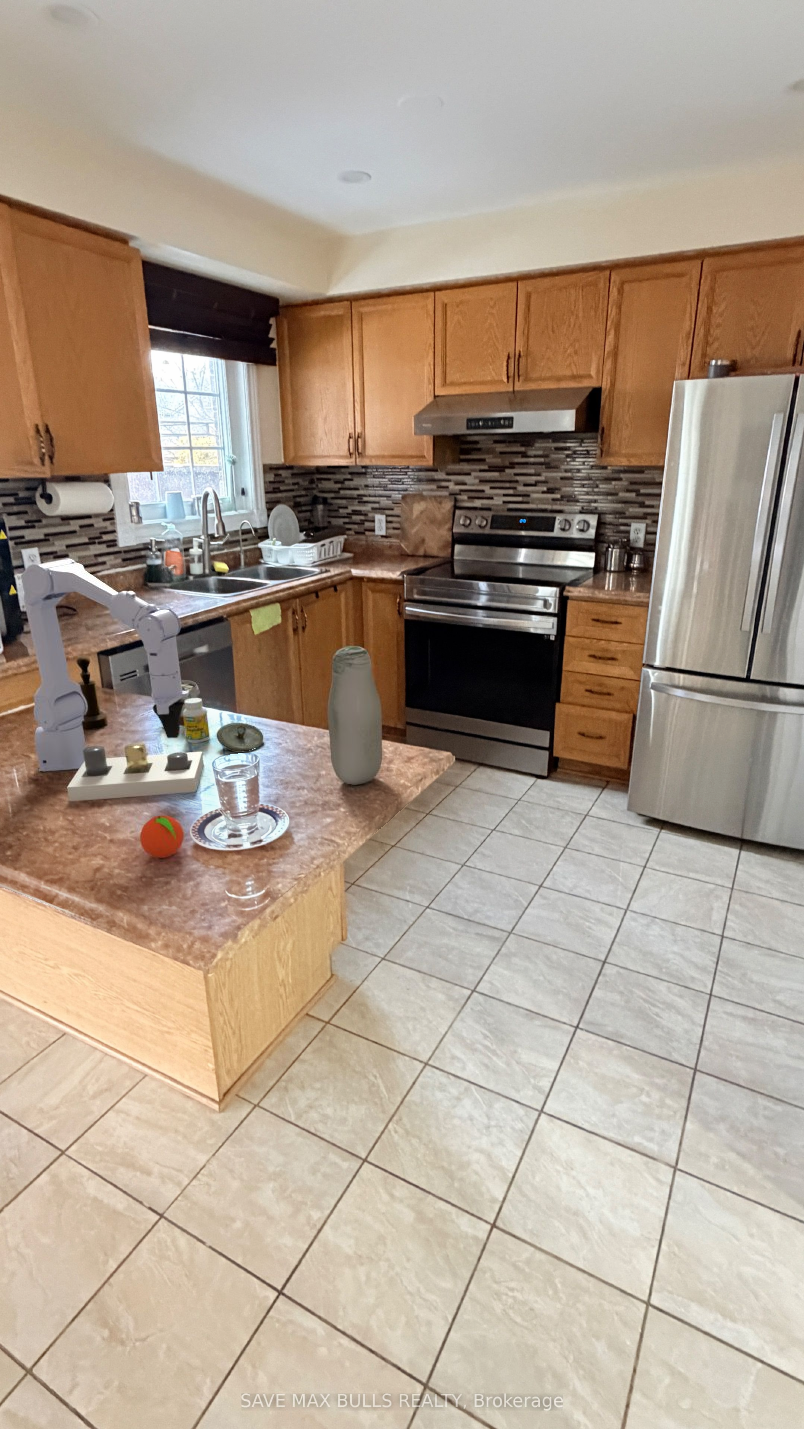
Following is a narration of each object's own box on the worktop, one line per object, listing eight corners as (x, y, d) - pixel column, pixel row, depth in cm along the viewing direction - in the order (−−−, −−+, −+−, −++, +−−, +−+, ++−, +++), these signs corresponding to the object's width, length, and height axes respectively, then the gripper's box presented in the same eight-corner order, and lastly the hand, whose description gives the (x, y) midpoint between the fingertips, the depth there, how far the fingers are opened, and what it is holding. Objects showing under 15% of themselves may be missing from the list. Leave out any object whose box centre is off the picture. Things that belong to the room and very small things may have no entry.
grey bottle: (350, 768, 159) (344, 638, 149) (391, 777, 154) (388, 644, 144) (322, 785, 151) (314, 649, 141) (365, 796, 146) (359, 656, 136)
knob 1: (84, 777, 150) (80, 753, 148) (89, 769, 154) (85, 746, 152) (105, 775, 150) (101, 752, 149) (109, 767, 154) (106, 745, 153)
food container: (213, 722, 188) (209, 683, 185) (195, 729, 183) (190, 690, 180) (179, 714, 194) (174, 676, 191) (160, 721, 189) (155, 683, 186)
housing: (69, 801, 146) (67, 787, 145) (87, 772, 159) (85, 759, 158) (196, 791, 149) (194, 777, 148) (203, 764, 162) (202, 751, 161)
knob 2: (168, 783, 153) (165, 760, 151) (171, 775, 157) (168, 753, 155) (188, 781, 153) (186, 759, 152) (191, 773, 157) (188, 751, 155)
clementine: (197, 855, 125) (193, 817, 123) (160, 872, 120) (155, 833, 118) (171, 840, 130) (166, 803, 128) (134, 856, 125) (128, 818, 123)
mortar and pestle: (81, 722, 189) (69, 653, 184) (108, 719, 191) (97, 650, 185) (78, 731, 183) (66, 659, 178) (107, 728, 185) (95, 657, 179)
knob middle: (126, 774, 151) (122, 751, 149) (130, 766, 155) (126, 743, 153) (146, 772, 151) (143, 749, 150) (150, 764, 155) (146, 742, 154)
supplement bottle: (210, 734, 180) (206, 696, 176) (208, 742, 174) (204, 703, 171) (187, 735, 179) (183, 697, 176) (184, 744, 174) (179, 704, 171)
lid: (247, 734, 179) (245, 714, 178) (273, 744, 173) (271, 723, 171) (209, 746, 172) (207, 726, 171) (234, 757, 166) (232, 736, 164)
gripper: (180, 681, 141) (188, 748, 146) (190, 661, 155) (197, 723, 159) (141, 683, 140) (151, 751, 145) (154, 663, 154) (163, 725, 158)
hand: (173, 736), depth 152 cm, fingers closed
